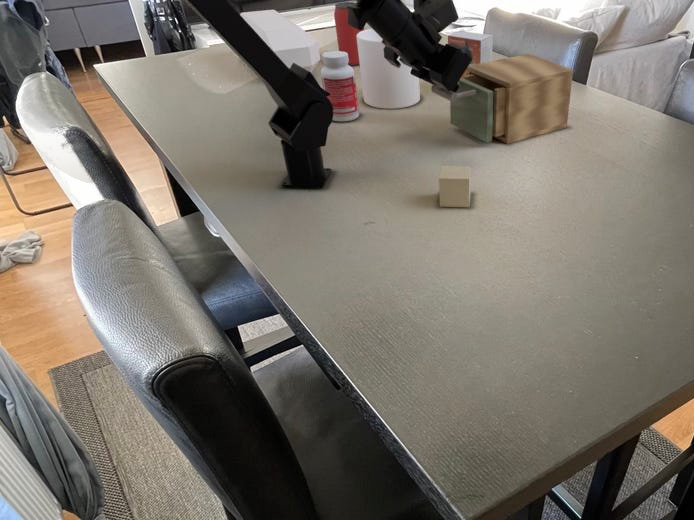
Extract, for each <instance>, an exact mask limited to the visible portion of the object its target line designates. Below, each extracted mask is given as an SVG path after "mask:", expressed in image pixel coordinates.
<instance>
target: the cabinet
mask: <svg viewBox="0 0 694 520" xmlns="http://www.w3.org/2000/svg"><path fill="white" fill-rule="evenodd" d="M470 74H476V75H479V76H481V77H484V78H486V79H488V80H491V81H493V82H496V83H498V84H500V85H503V86H505V87H507V98H506V123H505V134H504V135H501V136H497V137H495V136H493V135H492V138H495V139H497V140H499V141H501V142H503V143H505V144H507V145H508V144H512V143H515V142H519V141H523V140H527V139H530V138H534V137H538V136H541V135H544V134H548V133H552V132H556V131H559V130H562V129H566V128H568V121H569V112H570V111H569V110H570V101H571V93H572V84H573V74H574V69H572V68H570V67H567V66H564V65H561V64H559V63H555V62H553V61H550V60H547V59H545V58H542V57H539V56H536V55H532V54H529V53H526V54H521V55H517V56H511V57H506V58H501V59H494V60H492V61H489V62H484V63H479V64H474V65H469V66H468V67H467V75H470Z"/></svg>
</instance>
